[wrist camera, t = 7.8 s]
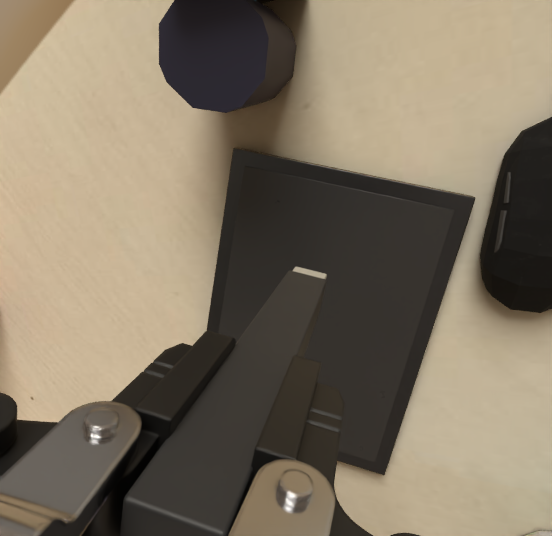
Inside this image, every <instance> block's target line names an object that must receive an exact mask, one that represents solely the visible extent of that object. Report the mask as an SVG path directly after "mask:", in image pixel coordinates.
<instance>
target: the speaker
mask: <svg viewBox="0 0 552 536" xmlns="http://www.w3.org/2000/svg"><path fill="white" fill-rule="evenodd" d="M270 1H274V0H174V2H173V3H172V5H171V6H170V8H169V10H168V11H167V13H166V14H165V16H164V17H163V19H162V20H161V22H160V23H159V65H160V67H161V70H162V72H163V74H164V77H165V79H166V82H167V83H168V84H169V85H170V86H171V87H172V88H173V89H174V90H175V91H176V92H177V93H178V94H179V95H180V96H181V97H182V98H183V99H184V100H185V101H186V102H187V103H189V104H190V105H191V106H192V107H193V108H198V109H204V110H211V111H217V112H224V113H227V112H230V111H234V110H237V109H241V108H244V107H248V106H251V105H255V104H258V103H262V102H265V101H267V100H270V99H272V98H275V96H276V95H277V94H278V93H279V92H280V91H281V89H282V88H283V87H284V86H285V85H286V84H287V82H288V81H289V80H290V79H291V78H292V77H293V69H294V61H295V53H296V44H295V40H294V37H293V34H292V31H291V30H290V29H289V28H288V27H287V26H286V25H285V24H284V22H283V21H282V20H281V19H280V18H279V17H278V16H277V15H276V14H275V13H274V12H273V11H272V10H271V9H270V8H268V7H266V6H265V5H263V3H266V2H270Z"/></svg>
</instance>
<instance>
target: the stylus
mask: <svg viewBox="0 0 552 536" xmlns="http://www.w3.org/2000/svg"><path fill="white" fill-rule="evenodd" d="M326 277H327V274H324V273H320V272H316V271H312V270H308V269H304V268H300V267H295V268H294V269H293V271H291V270H290V271H288V272H287V274H286V275H285V277H284V278H283V279H282V281H281V282H280V283H279V285H278V286H277V288H276V289H275V290H274V292H273V293H272V294H271V296H270V297H269V299H268V300H267V301H266V303H265V304H264V305H263V307H262V308H261V310H260V311H259V312H258V314H257V315H256V316H255V318H254V319H253V321H252V322H251V323H250V325H249V326H248V327H247V329H246V330H245V332H244V333H243V334H242V336H241V337H240V338H239V340H238V341H237V343H236V345H235V347H234V348H233V349H232V351H231V352H230V354H229V355H228V356H227V358H226V359H225V360H224V362H223V363H222V365H221V366H220V367H219V369H218V370H217V372H216V373H215V374H214V376H213V377H212V378H211V380H210V381H209V383H208V384H207V385H206V387H205V388H204V390H203V391H202V392H201V394H200V395H199V397H198V398H197V399H196V401H195V402H194V403H193V405H192V406H191V408H190V409H189V410H188V412H187V413H186V415H185V416H184V417H183V419H182V420H181V422H180V423H179V424H178V426H177V427H176V428H175V430H174V431H173V433H172V434H171V435H170V437H169V438H168V439H166V440H165V442H164V443H163V445H162V446H161V447H160V449H159V450H158V451H157V453H156V454H155V456H154V457H153V458H152V460H151V461H150V462H149V464H148V465H147V467H146V468H145V469H144V471H143V472H142V473H141V475H140V476H139V478H138V479H137V480H136V482H135V483H134V484H133V486H132V487H131V489H130V490H129V491H128V493H127V494H126V495H125V497H124V500H123V509H122V520H121V530H120V536H228V535H229V533H230V531H231V528H232V526H233V524H234V522H235V520H236V517H237V515H238V513H239V511H240V509H241V506H242V504H243V502H244V500H245V498H246V495H247V493H248V491H249V488H250V483H251V479H252V474H253V468H252V467H251V465H252V460H253V455H254V450H255V446H256V444H257V442H258V439H259V437H260V434H261V432H262V430H263V427H264V425H265V422H266V420H267V417H268V415H269V413H270V410H271V408H272V405H273V403H274V401H275V398H276V396H277V393H278V391H279V389H280V386H281V384H282V381H283V379H284V377H285V374H286V372H287V369H288V367H289V364H290V362H291V360H292V357H293V355H296V356H300V357H304V355H305V352H306V349H307V346H308V343H309V341H310V338H311V335H312V332H313V330H314V327H315V324H316V321H317V318H318V316H319V312H320V308H321V304H322V300H323V295H324V291H325V287H326V283H327V280H326Z"/></svg>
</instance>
